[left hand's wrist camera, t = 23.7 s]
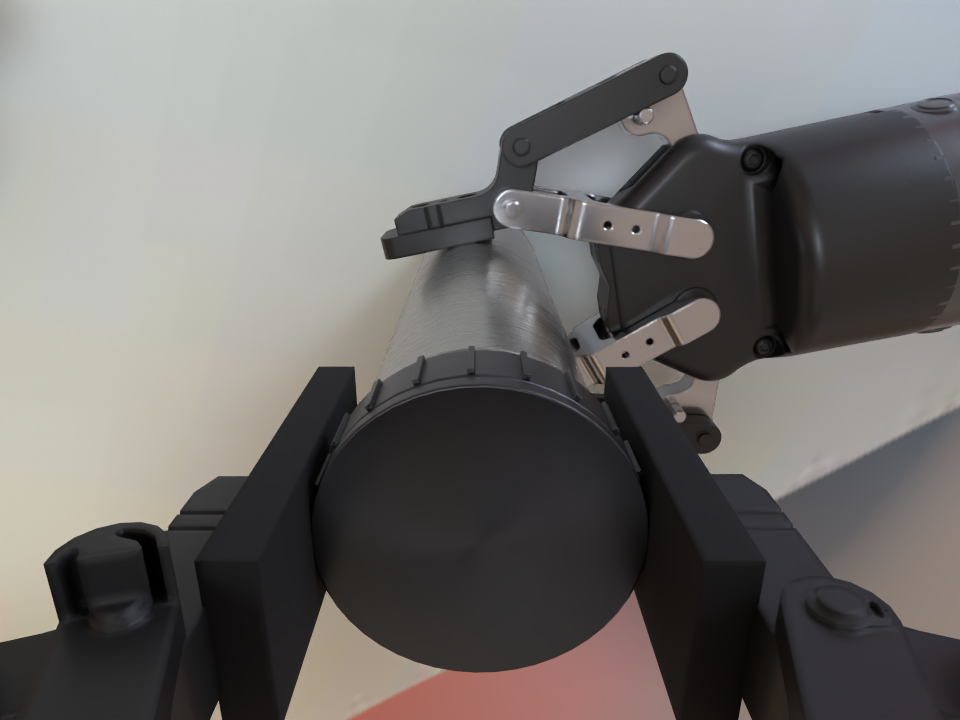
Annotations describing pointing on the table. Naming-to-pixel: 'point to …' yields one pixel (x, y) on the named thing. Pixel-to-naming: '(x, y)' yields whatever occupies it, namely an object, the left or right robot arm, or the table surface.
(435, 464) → the lid
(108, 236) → the table surface
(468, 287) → the steel thermos bottle
